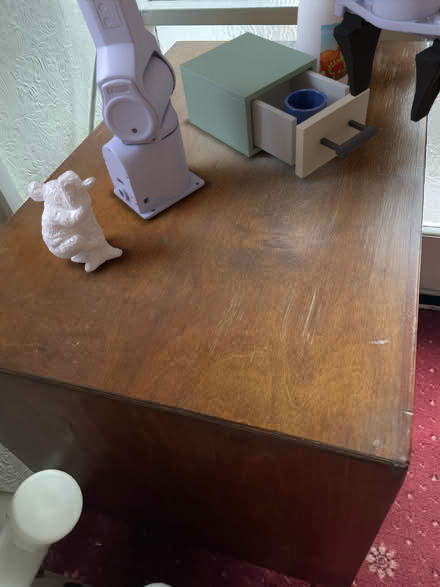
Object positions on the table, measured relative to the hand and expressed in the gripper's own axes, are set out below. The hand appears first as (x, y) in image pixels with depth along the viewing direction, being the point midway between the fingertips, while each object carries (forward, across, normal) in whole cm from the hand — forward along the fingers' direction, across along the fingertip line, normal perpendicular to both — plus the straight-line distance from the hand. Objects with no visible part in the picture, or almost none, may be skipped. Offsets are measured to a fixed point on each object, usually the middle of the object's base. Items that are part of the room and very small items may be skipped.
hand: (387, 104), depth 48 cm
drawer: (+10, +11, 0) cm, 14 cm away
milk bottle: (+11, +20, -13) cm, 26 cm away
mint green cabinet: (+10, +22, 0) cm, 25 cm away
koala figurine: (+11, +15, +32) cm, 36 cm away
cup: (+8, +12, 0) cm, 14 cm away
